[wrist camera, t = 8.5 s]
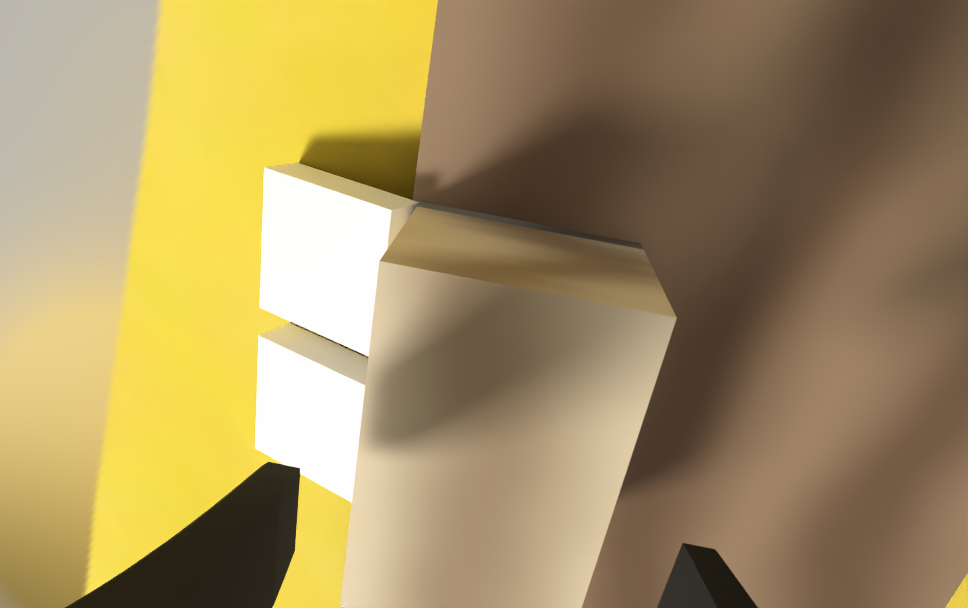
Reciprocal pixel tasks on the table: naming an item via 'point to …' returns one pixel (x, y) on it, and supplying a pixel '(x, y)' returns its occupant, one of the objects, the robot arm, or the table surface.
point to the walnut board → (751, 266)
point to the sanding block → (498, 411)
